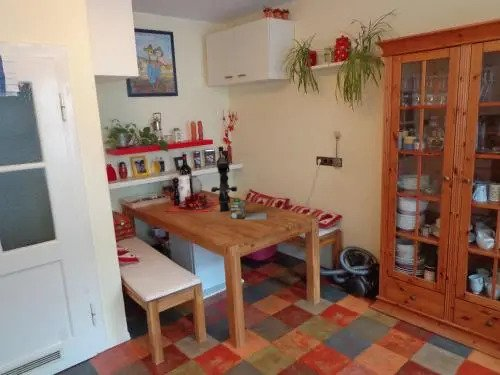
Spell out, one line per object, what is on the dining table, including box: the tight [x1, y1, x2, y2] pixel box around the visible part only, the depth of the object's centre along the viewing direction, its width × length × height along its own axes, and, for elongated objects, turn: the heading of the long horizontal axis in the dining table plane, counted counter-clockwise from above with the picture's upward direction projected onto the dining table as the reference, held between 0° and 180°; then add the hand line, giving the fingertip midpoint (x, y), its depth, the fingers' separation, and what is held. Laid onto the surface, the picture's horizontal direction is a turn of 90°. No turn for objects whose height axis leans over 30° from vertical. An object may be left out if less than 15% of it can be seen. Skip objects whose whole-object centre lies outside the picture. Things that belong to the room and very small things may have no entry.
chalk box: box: [228, 197, 247, 219], centre depth 273 cm, size 9×9×15 cm
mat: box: [243, 212, 268, 221], centre depth 274 cm, size 16×16×1 cm
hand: (224, 200), depth 273 cm, fingers closed
